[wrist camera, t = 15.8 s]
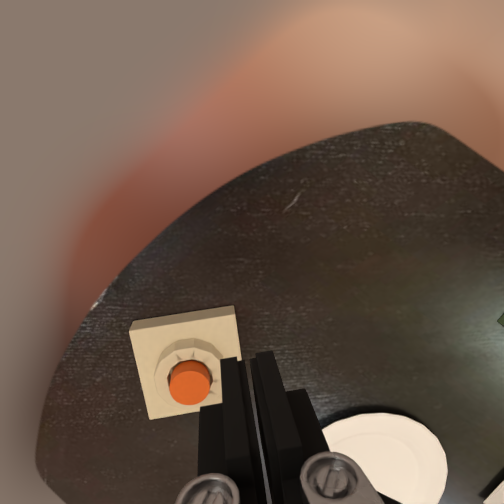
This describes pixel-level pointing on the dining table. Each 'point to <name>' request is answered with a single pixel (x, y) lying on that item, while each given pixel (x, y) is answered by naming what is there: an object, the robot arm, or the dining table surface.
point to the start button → (189, 383)
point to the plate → (392, 455)
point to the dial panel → (501, 320)
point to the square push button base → (182, 354)
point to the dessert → (496, 495)
